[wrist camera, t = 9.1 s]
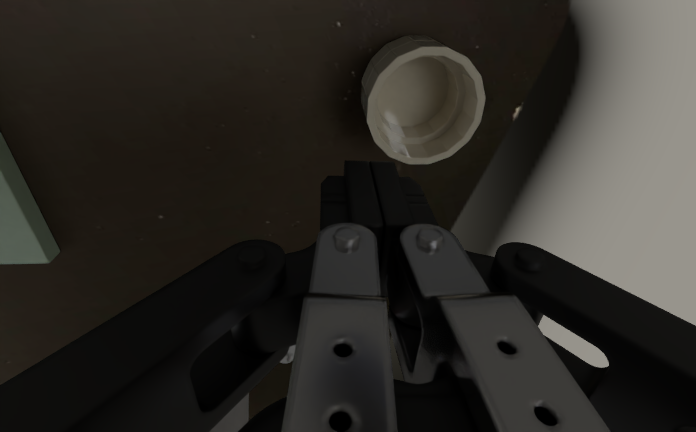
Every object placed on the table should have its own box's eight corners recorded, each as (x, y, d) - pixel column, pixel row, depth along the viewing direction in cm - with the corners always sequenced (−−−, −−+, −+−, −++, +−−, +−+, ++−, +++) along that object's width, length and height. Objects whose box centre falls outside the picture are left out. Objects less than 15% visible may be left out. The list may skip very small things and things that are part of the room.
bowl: (362, 33, 21) (370, 46, 17) (466, 34, 21) (496, 47, 18) (358, 135, 24) (364, 164, 21) (449, 135, 25) (472, 164, 21)
